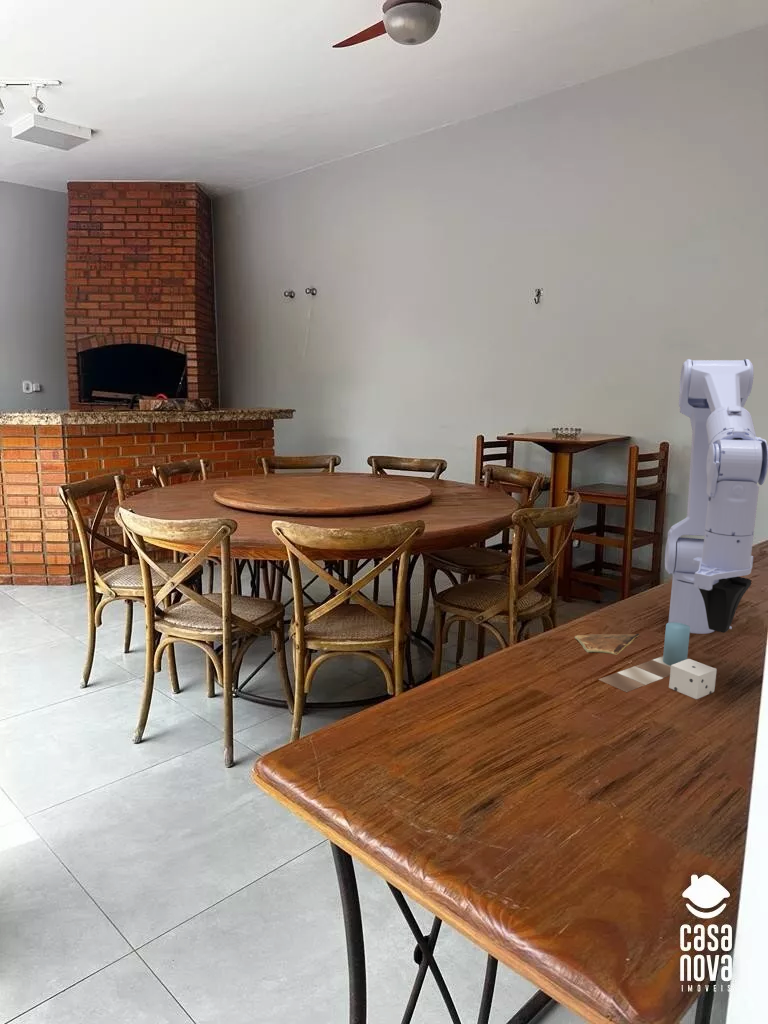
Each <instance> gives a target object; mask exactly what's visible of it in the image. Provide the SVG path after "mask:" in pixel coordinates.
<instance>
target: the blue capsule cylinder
mask: <svg viewBox="0 0 768 1024" xmlns="http://www.w3.org/2000/svg"><path fill="white" fill-rule="evenodd" d="M690 634H691V633H690V627H689V626H688V625H686V624H682V623H676V622H671V623H668V622H667V623H666V624H665V633H664V643H663V655H662V656H663V662H664V663H666V664H668V665H673V664H675V663H678V662H681V661H684V660H686V659H688V656H689V655H688V654H689V644H690Z"/></svg>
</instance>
